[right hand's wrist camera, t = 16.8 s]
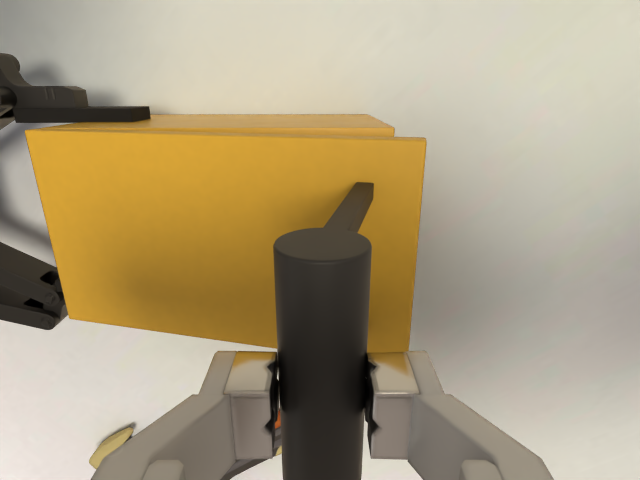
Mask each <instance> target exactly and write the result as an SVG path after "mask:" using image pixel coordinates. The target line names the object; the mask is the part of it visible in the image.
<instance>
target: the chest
mask: <svg viewBox="0 0 640 480" xmlns="http://www.w3.org/2000/svg"><path fill="white" fill-rule="evenodd" d="M150 117H151V119H147V120H142V121H136V122H80V123H73V124H66V125H59V126H52V127H45V128H54V129H95V130H135V131H176V132H216V133H257V134H297V135H338V136H378V137H394V127H392V126H390V125H388V124H386V123H384V122H382V121H380V120H378V119H376V118H374V117H372V116H370V115H367V114H326V115H150Z"/></svg>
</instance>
